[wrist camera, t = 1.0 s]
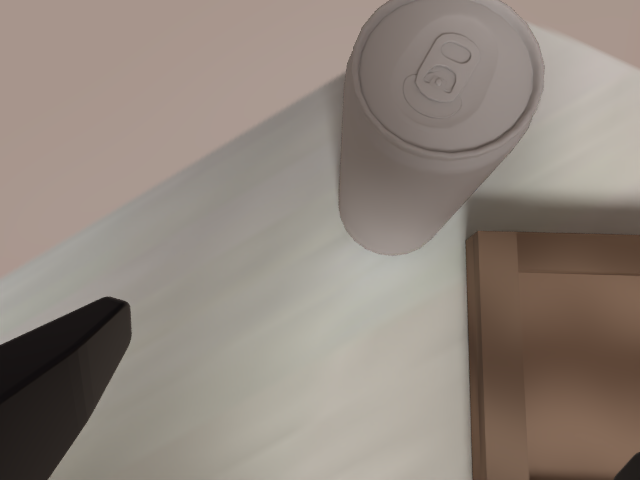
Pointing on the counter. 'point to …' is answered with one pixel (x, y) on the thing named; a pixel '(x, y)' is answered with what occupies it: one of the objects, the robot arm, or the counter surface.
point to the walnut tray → (553, 354)
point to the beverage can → (430, 114)
